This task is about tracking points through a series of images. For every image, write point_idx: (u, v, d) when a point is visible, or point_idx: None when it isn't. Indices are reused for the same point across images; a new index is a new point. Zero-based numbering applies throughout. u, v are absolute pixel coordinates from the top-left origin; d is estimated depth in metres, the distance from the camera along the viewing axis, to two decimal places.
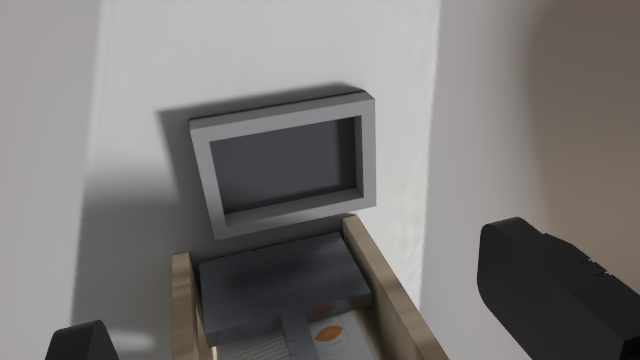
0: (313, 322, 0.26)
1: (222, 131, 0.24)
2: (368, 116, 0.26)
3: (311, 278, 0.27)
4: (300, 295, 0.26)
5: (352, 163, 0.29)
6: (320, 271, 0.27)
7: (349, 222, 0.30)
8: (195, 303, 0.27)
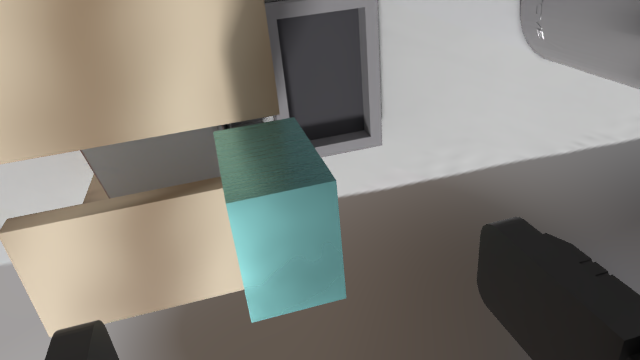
0: None
1: (372, 19, 0.28)
2: (368, 142, 0.32)
3: None
4: None
5: (314, 136, 0.32)
6: None
7: None
8: None
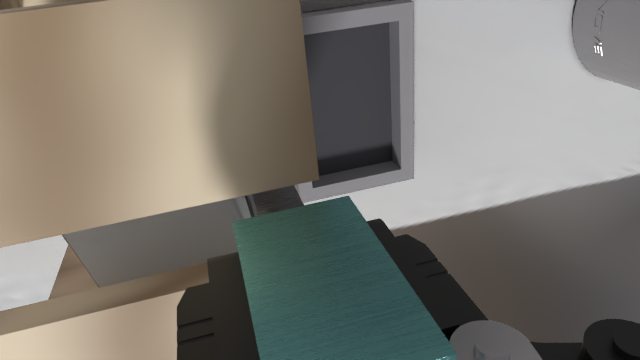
0: None
1: (407, 35, 0.24)
2: (398, 175, 0.28)
3: None
4: None
5: (335, 169, 0.28)
6: None
7: None
8: None
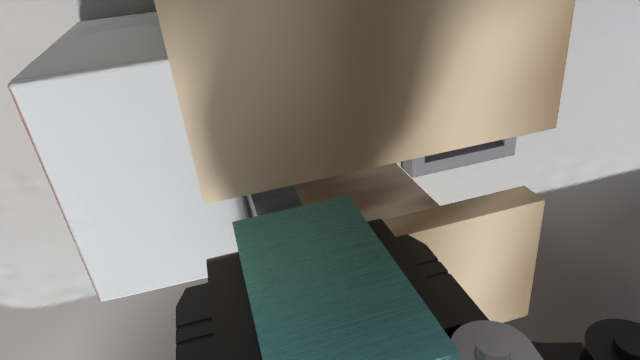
0: None
1: None
2: (501, 151, 0.29)
3: None
4: None
5: None
6: None
7: None
8: None
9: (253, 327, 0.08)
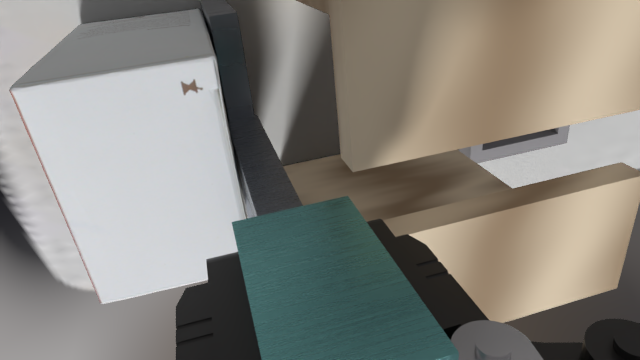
0: None
1: None
2: (554, 140, 0.30)
3: None
4: None
5: None
6: None
7: None
8: None
9: (253, 327, 0.08)
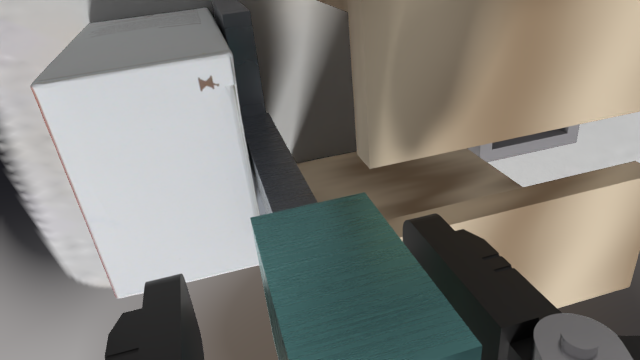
0: None
1: None
2: (564, 139, 0.30)
3: None
4: None
5: None
6: None
7: None
8: None
9: None
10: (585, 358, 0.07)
